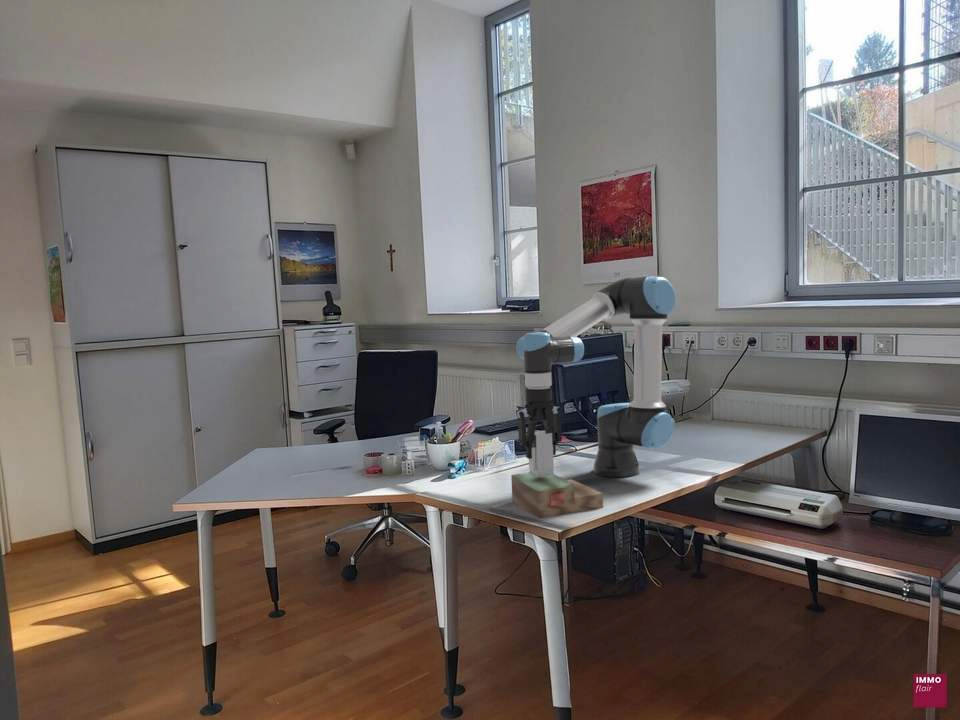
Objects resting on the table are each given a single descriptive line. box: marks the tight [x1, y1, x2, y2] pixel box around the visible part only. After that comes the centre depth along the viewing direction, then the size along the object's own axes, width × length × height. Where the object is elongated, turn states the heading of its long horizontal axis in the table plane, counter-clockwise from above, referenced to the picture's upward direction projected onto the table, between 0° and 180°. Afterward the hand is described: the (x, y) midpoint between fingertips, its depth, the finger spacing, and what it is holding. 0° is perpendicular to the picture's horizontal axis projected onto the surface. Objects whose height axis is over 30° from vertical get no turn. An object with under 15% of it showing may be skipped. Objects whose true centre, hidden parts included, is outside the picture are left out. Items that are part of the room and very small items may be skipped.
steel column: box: [529, 429, 554, 477], centre depth 207 cm, size 5×5×12 cm
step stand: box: [510, 471, 604, 519], centre depth 209 cm, size 20×19×8 cm
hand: (541, 468), depth 207 cm, fingers closed on steel column, 5 cm apart
